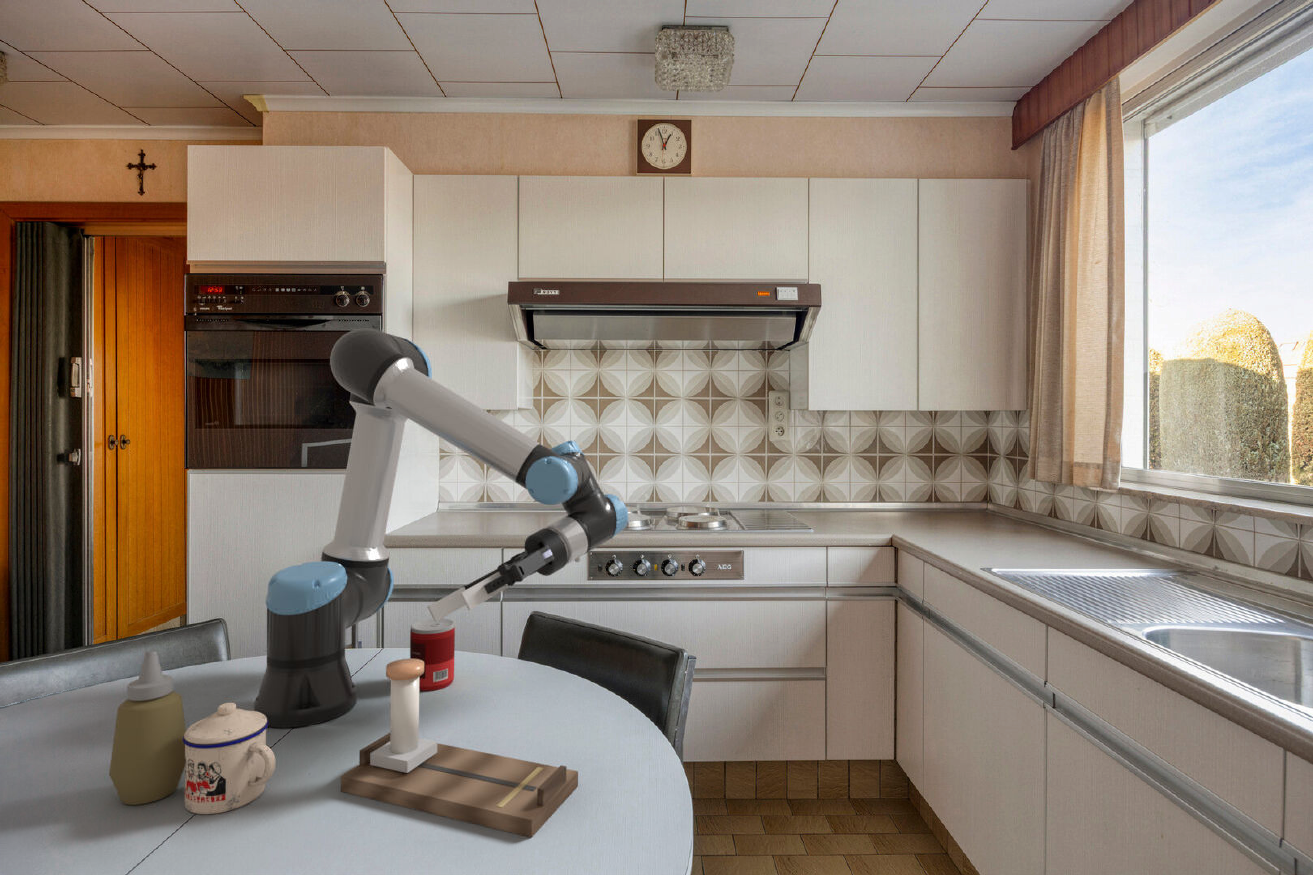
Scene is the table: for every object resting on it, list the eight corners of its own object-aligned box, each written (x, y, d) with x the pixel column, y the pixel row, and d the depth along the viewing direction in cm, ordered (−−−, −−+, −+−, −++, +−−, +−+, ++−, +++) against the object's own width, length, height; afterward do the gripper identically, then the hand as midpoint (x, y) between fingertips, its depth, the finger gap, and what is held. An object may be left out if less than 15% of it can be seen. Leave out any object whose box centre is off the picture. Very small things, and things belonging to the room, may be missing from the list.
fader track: (340, 791, 87) (340, 760, 87) (404, 750, 98) (404, 722, 98) (531, 837, 78) (532, 802, 78) (577, 786, 89) (578, 756, 89)
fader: (370, 764, 89) (371, 668, 89) (401, 744, 95) (402, 654, 95) (407, 772, 87) (408, 674, 87) (437, 752, 93) (438, 660, 93)
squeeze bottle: (125, 818, 80) (126, 668, 80) (97, 798, 84) (98, 655, 84) (200, 788, 87) (201, 649, 87) (171, 771, 91) (172, 639, 91)
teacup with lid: (163, 809, 82) (164, 714, 82) (230, 773, 91) (231, 687, 91) (240, 827, 79) (240, 728, 79) (301, 788, 87) (302, 698, 87)
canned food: (460, 676, 128) (461, 618, 128) (443, 692, 120) (443, 631, 120) (421, 674, 129) (422, 617, 128) (402, 690, 121) (402, 629, 120)
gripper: (603, 551, 107) (493, 619, 92) (531, 578, 125) (430, 639, 111) (582, 509, 107) (468, 570, 92) (513, 542, 125) (409, 598, 111)
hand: (447, 608), depth 101 cm, fingers open, 13 cm apart
